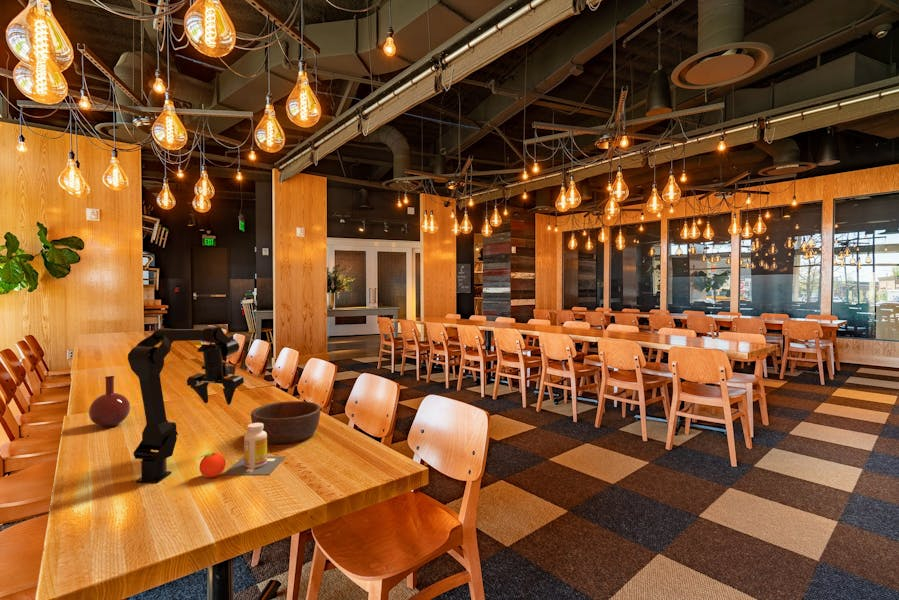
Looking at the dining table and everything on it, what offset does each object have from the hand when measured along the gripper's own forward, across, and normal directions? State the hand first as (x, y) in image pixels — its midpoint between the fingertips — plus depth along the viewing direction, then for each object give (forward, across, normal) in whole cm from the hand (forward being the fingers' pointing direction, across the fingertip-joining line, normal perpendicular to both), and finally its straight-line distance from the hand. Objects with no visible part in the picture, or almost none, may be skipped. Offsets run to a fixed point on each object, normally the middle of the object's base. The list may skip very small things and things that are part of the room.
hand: (217, 403), depth 152 cm
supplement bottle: (+14, -23, +13) cm, 30 cm away
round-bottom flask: (+17, +58, -8) cm, 61 cm away
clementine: (+13, -15, +23) cm, 31 cm away
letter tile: (+14, -23, +13) cm, 30 cm away
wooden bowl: (+18, -17, -14) cm, 28 cm away
